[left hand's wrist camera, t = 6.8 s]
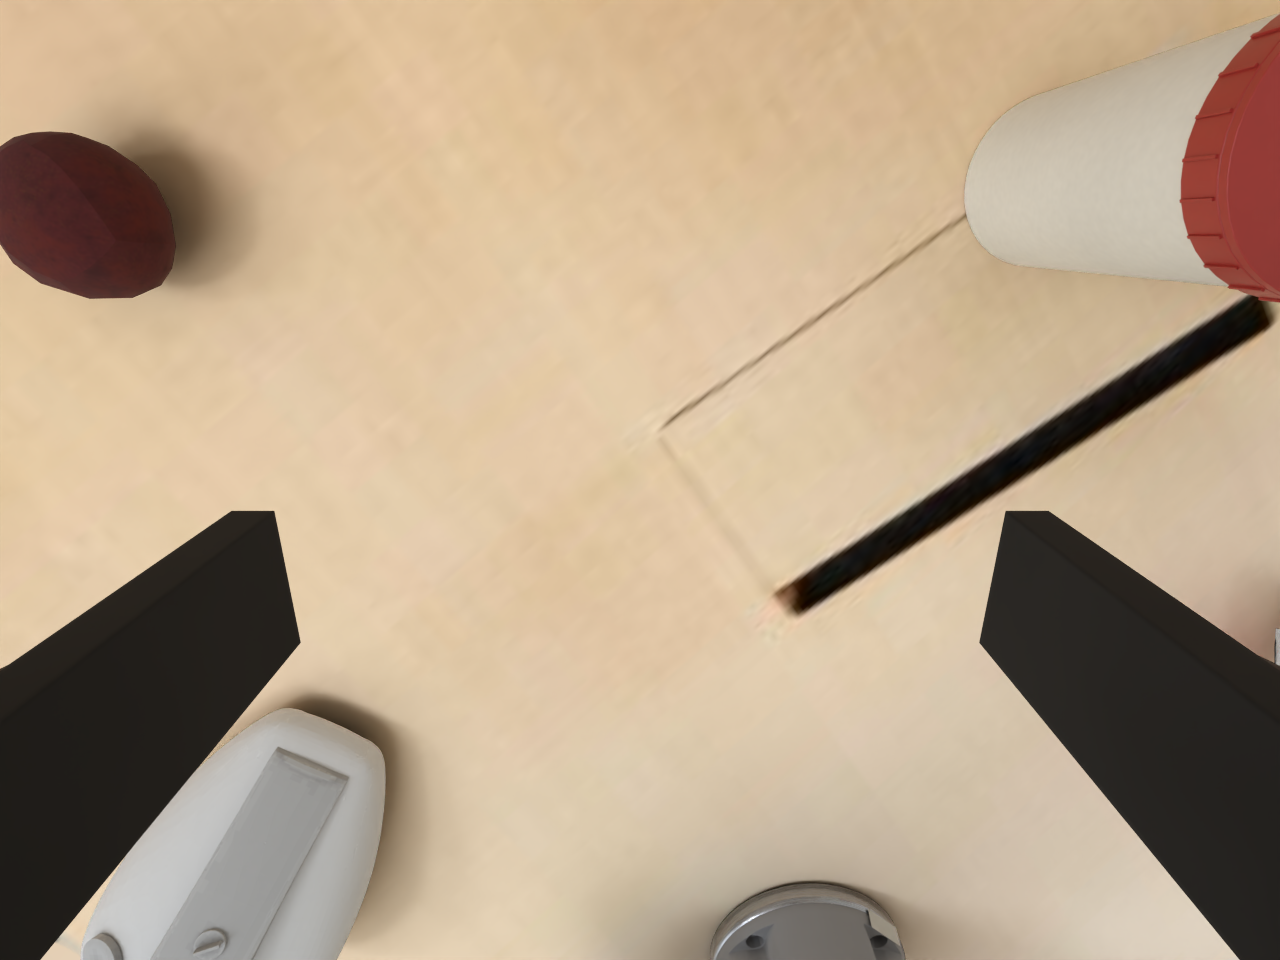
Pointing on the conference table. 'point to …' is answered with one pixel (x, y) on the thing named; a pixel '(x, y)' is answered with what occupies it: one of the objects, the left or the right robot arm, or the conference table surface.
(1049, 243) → the jar
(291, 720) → the projector
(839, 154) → the conference table surface
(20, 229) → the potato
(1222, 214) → the lid
